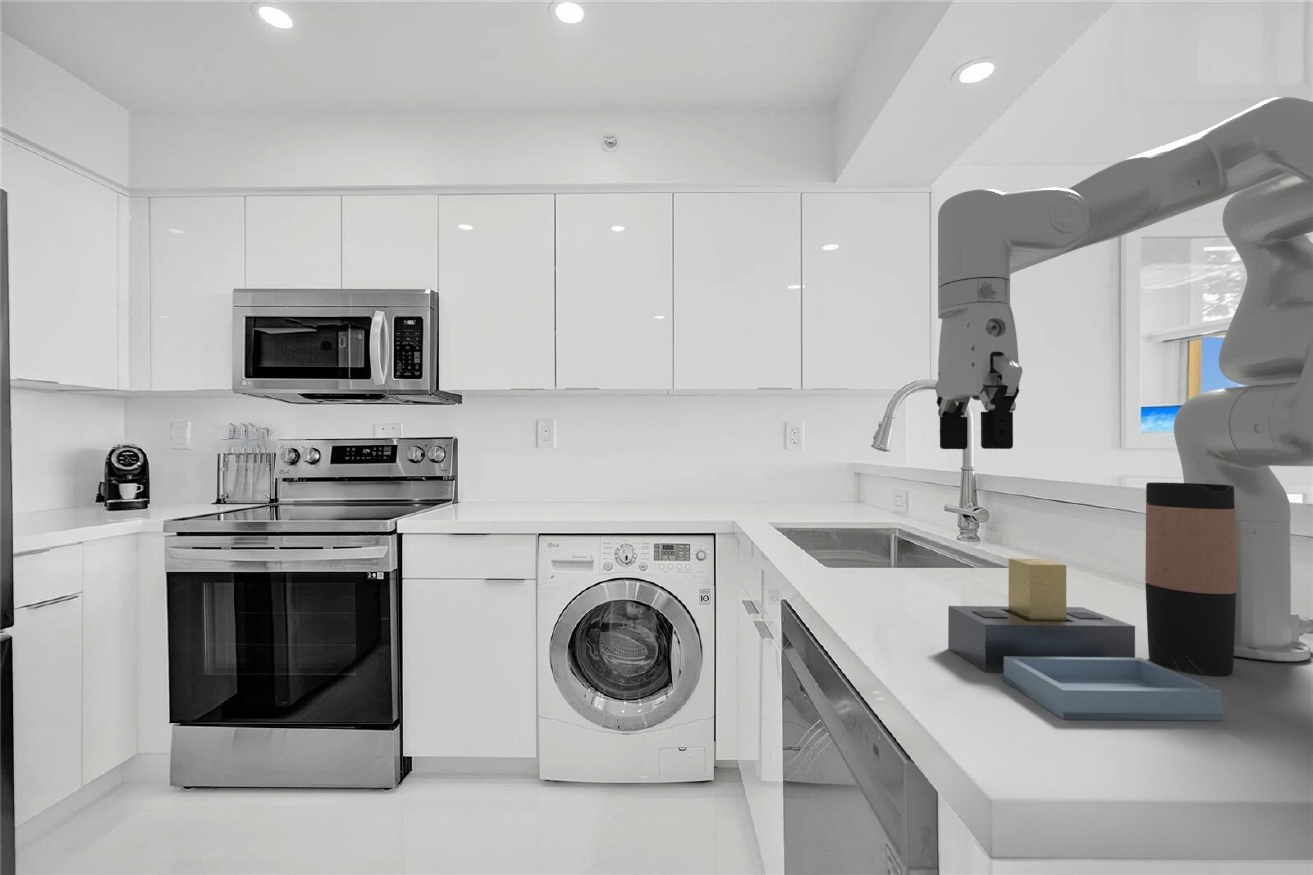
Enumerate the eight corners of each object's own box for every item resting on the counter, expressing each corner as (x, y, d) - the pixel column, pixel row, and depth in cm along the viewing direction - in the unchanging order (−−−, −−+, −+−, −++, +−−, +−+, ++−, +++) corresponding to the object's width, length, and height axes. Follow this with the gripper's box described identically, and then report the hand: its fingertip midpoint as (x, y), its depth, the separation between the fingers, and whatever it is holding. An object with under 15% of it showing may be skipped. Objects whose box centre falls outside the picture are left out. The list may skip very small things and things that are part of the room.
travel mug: (1151, 649, 74) (1150, 481, 75) (1238, 665, 69) (1237, 484, 69) (1140, 664, 69) (1139, 483, 70) (1234, 683, 64) (1233, 486, 64)
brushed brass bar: (1042, 637, 72) (1042, 558, 72) (1066, 648, 68) (1066, 565, 68) (1008, 636, 72) (1008, 558, 72) (1029, 647, 68) (1030, 564, 68)
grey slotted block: (1082, 649, 74) (1082, 606, 74) (1135, 673, 66) (1135, 625, 66) (948, 648, 74) (948, 605, 74) (985, 672, 66) (985, 623, 66)
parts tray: (1139, 682, 63) (1139, 657, 63) (1222, 720, 54) (1221, 691, 54) (1003, 681, 63) (1003, 656, 63) (1063, 719, 54) (1063, 690, 54)
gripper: (1052, 282, 64) (1053, 448, 64) (968, 318, 81) (968, 449, 81) (979, 281, 64) (980, 448, 64) (910, 317, 81) (911, 449, 81)
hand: (973, 448), depth 72 cm, fingers open, 9 cm apart
